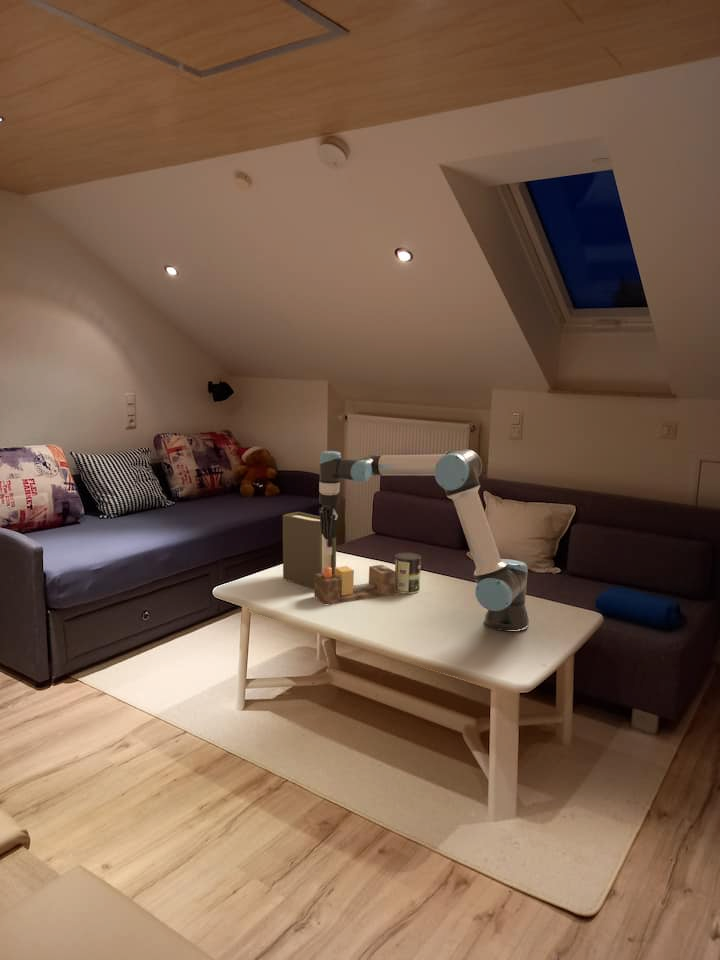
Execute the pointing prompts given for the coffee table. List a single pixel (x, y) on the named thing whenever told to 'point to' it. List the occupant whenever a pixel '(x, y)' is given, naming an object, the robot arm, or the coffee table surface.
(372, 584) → the bar
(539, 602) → the coffee table surface
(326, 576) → the orange peg
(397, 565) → the coffee can
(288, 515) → the book
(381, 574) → the wooden base
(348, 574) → the carriage
